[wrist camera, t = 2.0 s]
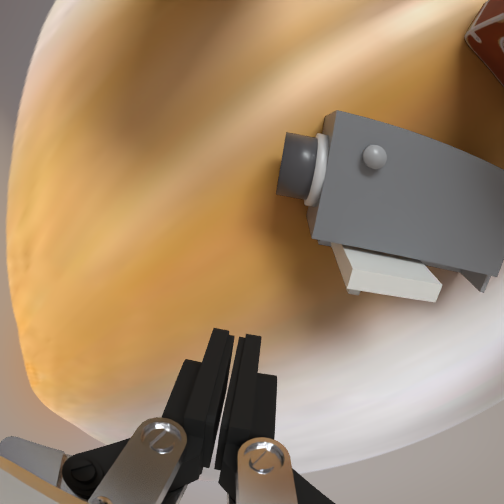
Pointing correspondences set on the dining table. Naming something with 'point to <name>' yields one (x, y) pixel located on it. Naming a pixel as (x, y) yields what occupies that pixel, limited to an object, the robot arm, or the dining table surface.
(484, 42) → the dark red boxy piece
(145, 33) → the dining table surface
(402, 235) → the housing
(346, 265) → the off-white foam block
